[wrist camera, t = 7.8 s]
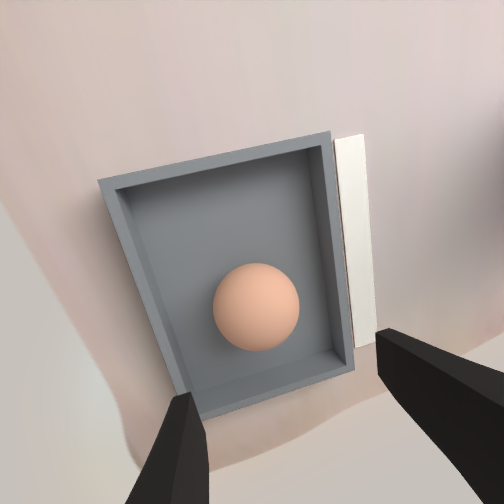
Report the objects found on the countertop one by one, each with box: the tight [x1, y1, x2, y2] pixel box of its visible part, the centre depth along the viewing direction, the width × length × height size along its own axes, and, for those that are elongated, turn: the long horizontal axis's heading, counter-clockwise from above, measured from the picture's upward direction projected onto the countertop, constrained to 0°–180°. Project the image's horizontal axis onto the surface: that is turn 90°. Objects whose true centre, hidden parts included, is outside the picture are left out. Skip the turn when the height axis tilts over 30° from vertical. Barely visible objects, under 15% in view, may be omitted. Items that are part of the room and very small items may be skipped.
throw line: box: [334, 134, 377, 348], centre depth 20 cm, size 2×16×1 cm, turn 12°
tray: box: [97, 131, 355, 421], centre depth 18 cm, size 12×16×3 cm
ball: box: [213, 263, 300, 351], centre depth 16 cm, size 5×5×5 cm
